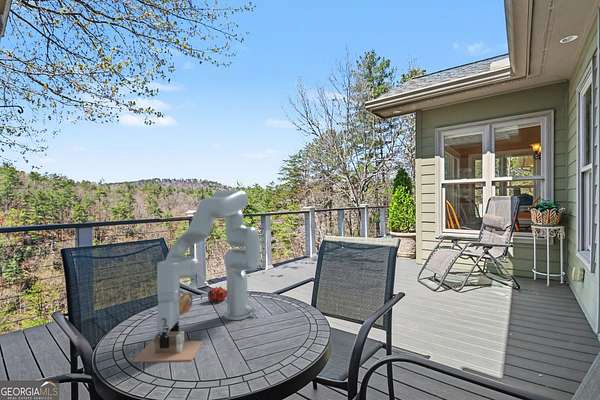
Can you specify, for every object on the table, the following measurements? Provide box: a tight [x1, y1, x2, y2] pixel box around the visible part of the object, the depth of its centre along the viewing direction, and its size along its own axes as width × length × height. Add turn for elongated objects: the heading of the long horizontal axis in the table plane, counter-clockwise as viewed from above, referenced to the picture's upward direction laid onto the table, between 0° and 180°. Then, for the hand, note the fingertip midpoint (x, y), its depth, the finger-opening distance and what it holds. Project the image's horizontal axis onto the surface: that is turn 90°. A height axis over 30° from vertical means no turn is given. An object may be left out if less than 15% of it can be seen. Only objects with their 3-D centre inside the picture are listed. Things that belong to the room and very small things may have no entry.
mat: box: [132, 340, 204, 363], centre depth 116 cm, size 20×14×1 cm
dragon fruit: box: [207, 286, 227, 303], centre depth 172 cm, size 8×8×12 cm
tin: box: [179, 292, 193, 317], centre depth 156 cm, size 15×3×8 cm, turn 168°
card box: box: [154, 330, 185, 353], centre depth 116 cm, size 4×9×6 cm, turn 92°
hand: (169, 341), depth 116 cm, fingers open, 9 cm apart
